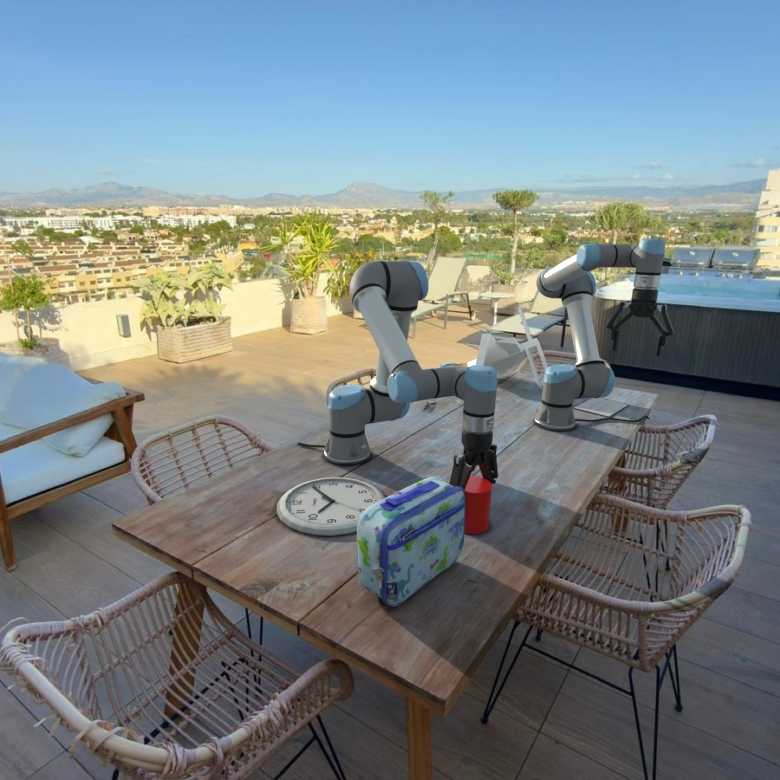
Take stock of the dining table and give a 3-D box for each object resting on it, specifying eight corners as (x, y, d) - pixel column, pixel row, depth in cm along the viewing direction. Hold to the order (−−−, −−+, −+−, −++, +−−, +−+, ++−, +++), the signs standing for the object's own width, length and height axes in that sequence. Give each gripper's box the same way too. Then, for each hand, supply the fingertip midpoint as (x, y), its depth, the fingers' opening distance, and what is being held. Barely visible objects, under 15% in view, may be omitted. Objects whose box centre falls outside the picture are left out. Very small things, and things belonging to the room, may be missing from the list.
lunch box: (386, 620, 101) (388, 525, 95) (350, 593, 108) (349, 503, 102) (468, 563, 119) (474, 480, 112) (432, 543, 126) (436, 464, 120)
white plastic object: (487, 418, 267) (468, 395, 242) (469, 346, 289) (449, 318, 264) (558, 394, 255) (545, 368, 230) (533, 321, 277) (518, 289, 252)
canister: (449, 515, 139) (451, 476, 135) (483, 513, 140) (486, 475, 136) (457, 534, 130) (460, 493, 127) (493, 533, 131) (496, 492, 128)
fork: (420, 410, 217) (420, 406, 216) (430, 399, 231) (431, 395, 231) (426, 411, 216) (426, 406, 216) (436, 400, 231) (436, 395, 230)
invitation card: (608, 416, 214) (573, 407, 224) (608, 416, 214) (573, 408, 224) (628, 404, 229) (594, 396, 238) (628, 405, 229) (594, 397, 238)
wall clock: (392, 527, 129) (268, 531, 127) (391, 533, 130) (269, 537, 127) (383, 473, 158) (282, 475, 155) (383, 478, 158) (282, 480, 156)
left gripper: (458, 445, 118) (453, 532, 124) (517, 423, 131) (509, 503, 138) (434, 435, 123) (431, 519, 130) (493, 415, 137) (487, 492, 143)
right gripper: (602, 286, 173) (594, 349, 179) (687, 291, 159) (675, 360, 165) (608, 285, 178) (600, 346, 184) (691, 290, 164) (679, 356, 170)
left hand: (471, 510), depth 134 cm, fingers closed on canister, 9 cm apart
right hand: (636, 352), depth 174 cm, fingers open, 13 cm apart
